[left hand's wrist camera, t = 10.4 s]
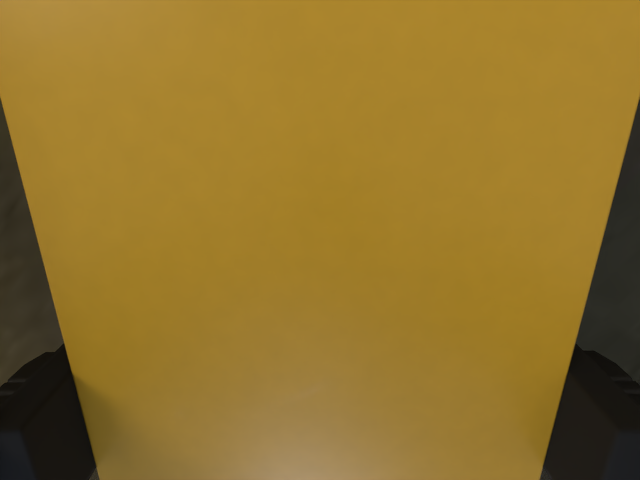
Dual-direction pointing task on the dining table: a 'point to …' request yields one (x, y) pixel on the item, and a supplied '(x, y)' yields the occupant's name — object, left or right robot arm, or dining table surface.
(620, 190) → the dining table surface
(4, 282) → the dining table surface
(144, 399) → the cabinet
